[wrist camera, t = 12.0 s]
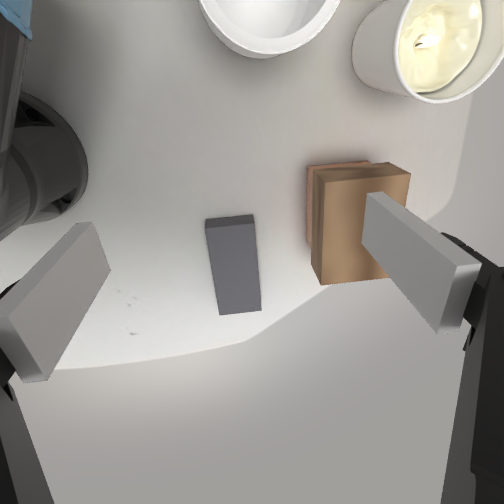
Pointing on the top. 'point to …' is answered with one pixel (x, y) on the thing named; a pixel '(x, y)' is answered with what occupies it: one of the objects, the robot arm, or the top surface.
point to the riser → (234, 263)
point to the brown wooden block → (349, 219)
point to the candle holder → (429, 47)
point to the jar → (266, 23)
